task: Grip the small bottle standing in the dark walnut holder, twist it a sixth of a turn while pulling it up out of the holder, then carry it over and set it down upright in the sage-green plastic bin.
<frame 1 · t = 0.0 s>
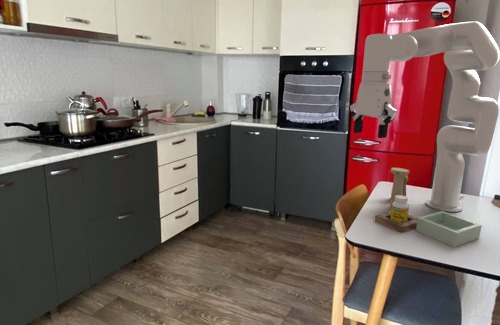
hand: (369, 135, 109), 31 cm above the table, tool pointing down, fingers open, 9 cm apart
supplement bottle: (398, 224, 121), resting in holder
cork: (398, 200, 144), on the table
bin: (446, 234, 113), on the table
holder: (398, 223, 121), on the table
handle: (395, 207, 136), on the table
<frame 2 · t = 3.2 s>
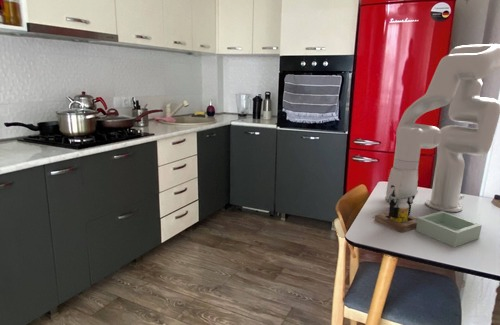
hand: (399, 215, 120), 3 cm above the table, tool pointing down, fingers closed on supplement bottle, 5 cm apart
supplement bottle: (398, 223, 121), resting in holder, touching gripper
everything else where it was.
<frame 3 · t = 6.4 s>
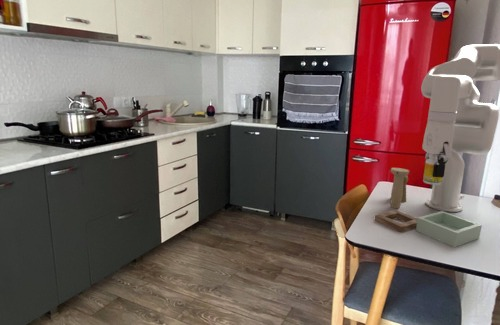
hand: (433, 173, 112), 19 cm above the table, tool pointing down, fingers closed on supplement bottle, 5 cm apart
supplement bottle: (431, 183, 113), point 16 cm above the table, touching gripper
everything else where it was.
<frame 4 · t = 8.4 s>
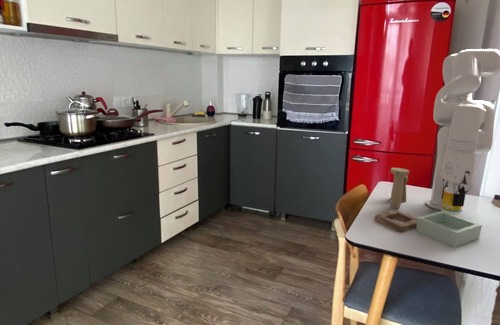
hand: (452, 202, 111), 11 cm above the table, tool pointing down, fingers closed on supplement bottle, 5 cm apart
supplement bottle: (450, 211, 111), point 8 cm above the table, touching gripper
everything else where it was.
when the fingers open (6 cm above the table, at t = 9.7 s): supplement bottle drops 2 cm, resting on bin.
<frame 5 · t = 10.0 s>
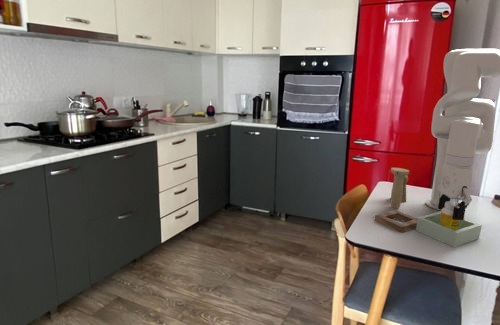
hand: (450, 213, 112), 7 cm above the table, tool pointing down, fingers open, 8 cm apart
supplement bottle: (447, 232, 113), point 1 cm above the table, touching bin
everything else where it was.
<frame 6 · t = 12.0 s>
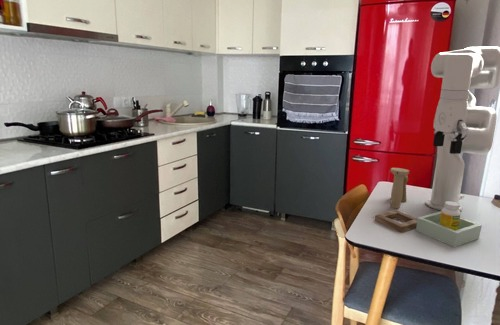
hand: (446, 149, 113), 26 cm above the table, tool pointing down, fingers open, 9 cm apart
nothing on the table moved.
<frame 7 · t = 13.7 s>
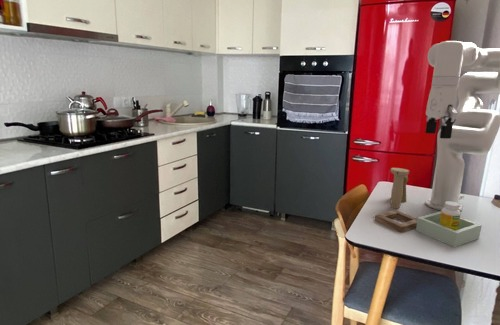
hand: (437, 135, 116), 30 cm above the table, tool pointing down, fingers open, 9 cm apart
nothing on the table moved.
at the end: supplement bottle inside the target area on the bin (0.2 cm from its centre), point 0.8 cm above the bin's base; supplement bottle tilted 0°; the gripper is holding nothing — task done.
